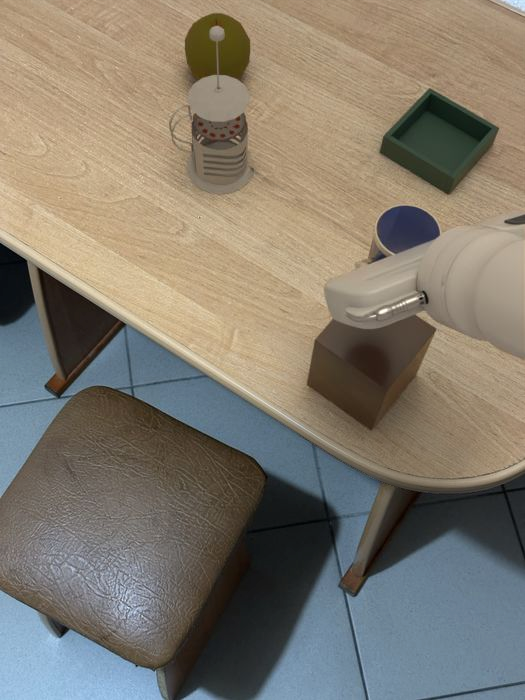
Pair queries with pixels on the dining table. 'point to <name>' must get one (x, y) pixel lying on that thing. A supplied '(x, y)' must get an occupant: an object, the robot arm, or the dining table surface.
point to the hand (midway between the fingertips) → (396, 255)
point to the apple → (229, 49)
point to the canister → (402, 230)
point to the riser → (368, 365)
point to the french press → (217, 131)
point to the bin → (438, 140)
